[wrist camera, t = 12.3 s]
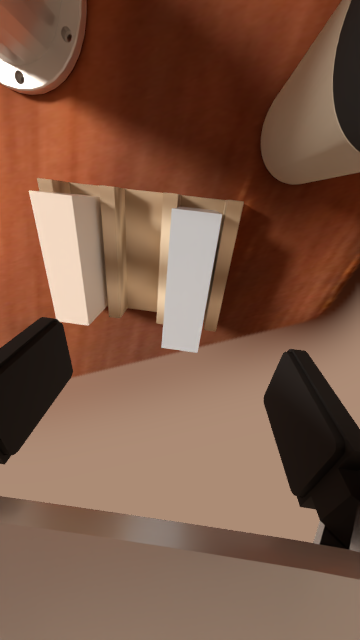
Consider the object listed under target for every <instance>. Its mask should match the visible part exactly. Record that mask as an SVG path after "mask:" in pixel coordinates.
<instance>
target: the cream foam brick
mask: <svg viewBox="0 0 360 640" xmlns="http://www.w3.org/2000/svg"><path fill="white" fill-rule="evenodd" d="M29 194H30V198H31V203H32V208H33V212H34V217H35V222H36V226H37V231H38V235H39V240H40V245H41V249H42V254H43V259H44V263H45V268H46V273H47V277H48V282H49V286H50V291H51V296H52V300H53V305H54V310H55V314H56V319H57V320H59V321H60V322H67V323H74V324H81V325H88V326H89V325H90V324H91V323H92V322H93V320H94V319H95V318H96V317H97V316H98V315H99V314H100V313H101V312H102V311H103V310H104V309H105V308H106V307H107V306H108V296H107V282H106V269H105V255H104V242H103V228H102V215H101V202H100V197H98V196H89V195H80V194H69V193H55V192H42V191H29Z"/></svg>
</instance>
